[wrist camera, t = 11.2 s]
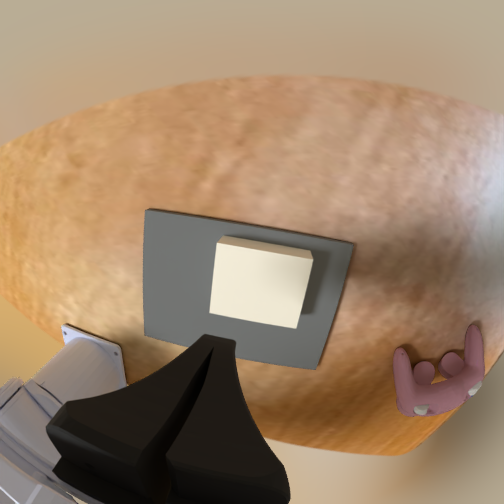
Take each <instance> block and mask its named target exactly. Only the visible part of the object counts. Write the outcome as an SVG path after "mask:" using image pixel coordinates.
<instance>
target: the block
mask: <svg viewBox="0 0 504 504" xmlns="http://www.w3.org/2000/svg"><path fill="white" fill-rule="evenodd" d="M312 263H313V257H312V254H311V251H310V250H304V249H299V248H293V247H287V246H282V245H276V244H270V243H265V242H259V241H253V240H247V239H242V238H236V237H230V236H224V235H223V236H222V238H221V239H220V240H219V241H218V242H217V245H216V254H215V263H214V272H213V281H212V291H211V301H210V312H209V313H213V314H217V315H222V316H227V317H232V318H237V319H243V320H248V321H254V322H259V323H265V324H271V325H277V326H283V327H289V328H295V329H296V328H297V324H298V320H299V316H300V312H301V309H302V305H303V301H304V297H305V293H306V289H307V284H308V280H309V276H310V272H311V267H312Z"/></svg>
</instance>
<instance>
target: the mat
mask: <svg viewBox="0 0 504 504" xmlns="http://www.w3.org/2000/svg"><path fill="white" fill-rule="evenodd" d="M223 235H224V236H230V237H236V238H242V239H247V240H253V241H259V242H265V243H270V244H276V245H282V246H287V247H293V248H299V249H304V250H310V251H311V254H312V257H313V263H312V267H311V272H310V276H309V280H308V284H307V289H306V293H305V297H304V301H303V305H302V309H301V312H300V316H299V320H298V324H297V328H296V329H295V328H289V327H283V326H277V325H271V324H265V323H259V322H254V321H248V320H243V319H237V318H232V317H227V316H222V315H217V314H213V313H209V312H210V301H211V291H212V281H213V272H214V263H215V254H216V245H217V242H218V241H219V240H220V239H221V238H222V236H223ZM353 246H354V245H353V244H352V243H349V242H344V241H339V240H334V239H329V238H323V237H318V236H313V235H307V234H302V233H296V232H291V231H285V230H279V229H274V228H268V227H262V226H256V225H250V224H244V223H238V222H232V221H226V220H220V219H214V218H207V217H201V216H194V215H188V214H181V213H175V212H168V211H161V210H154V209H147V210H145V221H144V243H143V311H144V333H145V336H148V337H152V338H155V339H159V340H162V341H166V342H170V343H174V344H177V345H181V346H185V347H190V346H191V345H192V344H193V343H194V342H195V341H197V340H198V339H199V338H200V337H201V336H202V335H203V334H209V335H213V336H218V337H223V338H228V339H233V340H235V341H236V349H235V358H240V359H245V360H251V361H256V362H262V363H268V364H275V365H281V366H288V367H295V368H303V369H311V370H316V367H317V365H318V362H319V359H320V356H321V354H322V351H323V348H324V345H325V342H326V339H327V336H328V333H329V330H330V327H331V324H332V321H333V318H334V315H335V311H336V308H337V305H338V301H339V298H340V295H341V291H342V288H343V284H344V281H345V277H346V273H347V270H348V266H349V262H350V258H351V254H352V250H353Z"/></svg>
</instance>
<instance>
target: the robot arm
mask: <svg viewBox="0 0 504 504" xmlns="http://www.w3.org/2000/svg"><path fill="white" fill-rule="evenodd" d="M61 328H62V333H63V337H64V341H65V346H64V347H63V348H62V349H61V350H60V351H59V352H58V353H57V354H56V355H55V356H53V357H52V358H51V359H50V360H49V361H48V362H47V363H46V364H45V365H44V366H43V367H42V368H41V369H40V370H39V371H38V372H37V373H36V374H35V375H34V376H33V377H32V378H31V379H29V380H28V381H27V382H26V383H24V384H23V381H22V379H21V378H16V377H12V378H10V379H9V380H8V381H7V382H6V383H5V384H4V385H3V386H2V387H1V388H0V504H15V503H17V504H78V503H77V502H76V501H75V500H74V499H73V497H72V496H71V495H73V496H75V497H77V498H78V499H80V500H82V501H84V502H86V503H88V504H288V503H289V501H290V487H289V482H288V478H287V474H286V471H285V468H284V465H283V464H282V463H281V462H280V461H279V459H278V458H277V457H276V455H275V454H274V453H273V451H272V450H271V449H270V447H269V446H268V444H267V443H266V441H265V440H264V438H263V436H262V435H261V433H260V431H259V429H258V427H257V426H256V424H255V422H254V420H253V418H252V416H251V414H250V411H249V409H248V407H247V404H246V402H245V399H244V396H243V393H242V389H241V386H240V382H239V378H238V373H237V367H236V359H235V349H236V341H235V340H233V339H228V338H223V337H218V336H213V335H209V334H203V335H202V336H201V337H200V338H199V339H198V340H197V341H195V342H194V343H193V344H192V345H191V346H190V347H189V348H188V349H186V350H185V351H184V352H183V353H181V354H180V355H179V356H178V357H176V358H175V359H174V360H172V361H171V362H170V363H168V364H167V365H165V366H164V367H162V368H161V369H159V370H158V371H156V372H154V373H153V374H151V375H149V376H147V377H146V378H144V379H142V380H140V381H138V382H135V383H133V384H131V385H129V386H127V383H126V377H125V372H124V365H123V359H122V352H121V348H120V346H119V345H117V344H114V343H111V342H109V341H106V340H103V339H101V338H98V337H95V336H93V335H90V334H88V333H85V332H83V331H80V330H78V329H75V328H73V327H71V326H68V325H66V324H63V325H62V326H61ZM116 352H117V353H116ZM22 384H23V385H22ZM66 492H68V493H70V494H71V495H69V494H67V493H66Z"/></svg>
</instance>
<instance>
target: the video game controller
mask: <svg viewBox="0 0 504 504" xmlns="http://www.w3.org/2000/svg"><path fill="white" fill-rule="evenodd" d="M438 369H439V372H440V374H441V375H442V376H443V377H445V378H446V379H447V380H445V381H441V382H438V383H435V384H431V382H432V380H433V379H434V375H435V369H434V366H433V365H432V364H431V363H430V362H426V361H423V362H420V363H418V364H417V365H416V366H415V367H414V369H413V370H411V365H410V359H409V357H408V355H407V353H406V351H405V350H404V349H403V348H401V347H399V348H397V349H396V351H395V353H394V357H393V374H394V381H395V388H396V393H397V400H396V403H397V408H398V410H399V411H400V412H401V413H402V414H404V415H406V416H411V417H414V416H434V415H438V414H442V413H445V412H448V411H450V410H452V409H454V408H456V407H458V406H459V405H461V404H462V403H464V402H465V401H466V400H468V399H469V398H470V397H472V396H473V395H474V394H475V393H476V392H477V390H478V389H479V388H480V387H481V385H482V381H483V378H484V374H485V365H484V350H483V340H482V335H481V333H480V330H479V329H478V327H477V326H476V325H471V326H469V327H468V330H467V333H466V338H465V353H464V360H462V359H461V358H460V357H459V356H458V355H457V354H456V353H453V352H450V353H447V354H446V355H445V356H444V357H443V358H442V359H441V361H440V362H439V365H438Z"/></svg>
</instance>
